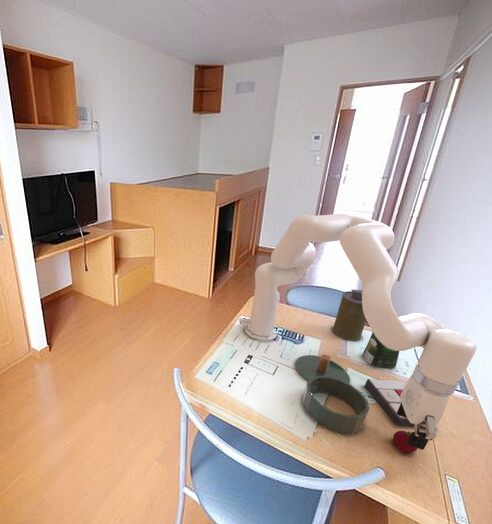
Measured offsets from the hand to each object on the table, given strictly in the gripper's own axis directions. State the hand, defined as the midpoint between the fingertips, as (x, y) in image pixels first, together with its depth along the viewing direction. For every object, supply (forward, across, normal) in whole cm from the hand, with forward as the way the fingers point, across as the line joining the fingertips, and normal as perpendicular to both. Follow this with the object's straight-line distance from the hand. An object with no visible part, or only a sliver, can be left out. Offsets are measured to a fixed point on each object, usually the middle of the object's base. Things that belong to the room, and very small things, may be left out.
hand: (409, 430), depth 79 cm
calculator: (+6, -16, +2) cm, 17 cm away
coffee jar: (+7, -38, +1) cm, 38 cm away
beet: (+6, 0, 0) cm, 6 cm away
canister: (+7, -54, -7) cm, 55 cm away
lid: (+6, -22, -18) cm, 29 cm away
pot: (+6, -5, -16) cm, 18 cm away
